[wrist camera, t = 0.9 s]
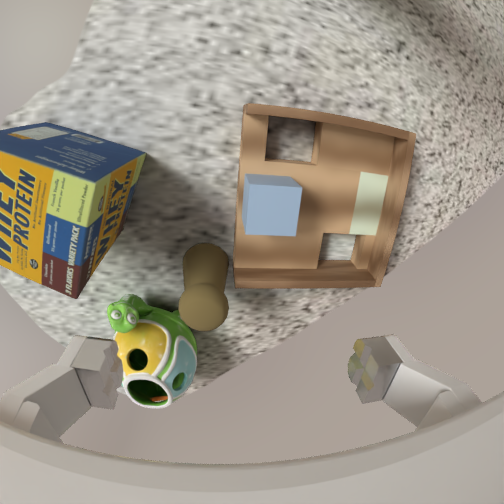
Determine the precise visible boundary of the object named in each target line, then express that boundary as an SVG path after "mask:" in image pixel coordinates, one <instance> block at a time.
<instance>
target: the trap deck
mask: <svg viewBox="0 0 504 504" xmlns="http://www.w3.org/2000/svg"><path fill="white" fill-rule="evenodd" d="M269 116H276V117H285V118H293V119H301V120H308V121H315V122H316V126H315V135H314V143H313V152H312V160H311V162H304V161H294V160H284V159H272V158H265V151H266V141H267V130H268V119H269ZM415 139H416V134H415V133H412V132H409V131H405V130H401V129H398V128H394V127H390V126H386V125H382V124H378V123H374V122H369V121H365V120H360V119H356V118H351V117H346V116H341V115H335V114H330V113H324V112H318V111H311V110H305V109H297V108H290V107H281V106H272V105H262V104H250V103H248V104H245V105H244V107H243V119H242V132H241V145H240V158H239V172H238V187H237V202H236V217H235V233H234V250H233V273H234V283H235V288H356V287H380V286H381V284H382V280H383V277H384V274H385V271H386V268H387V264H388V261H389V258H390V254H391V251H392V247H393V243H394V240H395V236H396V232H397V228H398V224H399V220H400V216H401V212H402V208H403V203H404V199H405V194H406V190H407V185H408V180H409V174H410V169H411V164H412V158H413V152H414V145H415ZM245 174H262V175H277V176H290V177H291V178H292V179H294V180H295V181H296V182H297V183H298V184H299V185H300V186H301V187H302V194H301V202H300V209H299V216H298V223H297V230H296V236H274V235H246V234H245V230H244V225H243V221H242V206H243V192H244V179H245ZM323 233H340V234H357V235H356V239H355V244H354V248H353V252H352V256H351V260H318V259H319V254H320V249H321V243H322V238H323Z"/></svg>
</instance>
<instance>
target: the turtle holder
mask: <svg viewBox="0 0 504 504" xmlns="http://www.w3.org/2000/svg"><path fill="white" fill-rule="evenodd" d="M107 314H108V318H109V321H110V324H111V327H112V328H113V329H114V330H115V335H114V337H113V340H115V341H116V342H117V345H118V349H119V350H118V353H117V356H118V357H119V358H120V359H121V360H122V364H123V380H122V384H121V385H122V386H123V388H124V390H125V392H126V394H127V395H128V397H129V398H130V399H131V400H132V401H133V402H134V403H136V404H137V405H139V406H142V407H146V408H164V407H167V406H169V405H170V404H171V403H173V402H175V401H177V400H178V399H180V398H181V397H182V396H183V395H184V394H185V392H186V391H187V390H188V388H189V387H190V385H191V383H192V381H193V378H194V375H195V371H196V367H197V357H196V355H197V344H196V340H195V338H194V335H193V333H192V332H191V330H190V329H189V327H188V326H187V325H186V324H185V322H184V321H183V320H182V319H181V316H180V313H179V310H175V311H173V312H172V313H171V312H169V311H166V310H163V309H160V308H156V307H151V306H149V305H147V304H146V303H145V302H144V301H143V300H142V299H141V298H140V297H138V296H136V295H133V294H128V295H125V296H124V297H122V298H121V299H120V301H118V302H114V303H112V304H110V305H109V306H108V309H107ZM160 400H164V401H161V402H154V401H160Z"/></svg>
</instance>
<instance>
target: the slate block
mask: <svg viewBox="0 0 504 504" xmlns="http://www.w3.org/2000/svg"><path fill="white" fill-rule="evenodd" d="M301 194H302V187H301V186H300V185H299V184H298V183H297V182H296V181H295V180H294V179H292V178H291V177H290V176H277V175H262V174H245V179H244V192H243V206H242V221H243V225H244V230H245V234H246V235H274V236H296V230H297V223H298V216H299V209H300V202H301Z"/></svg>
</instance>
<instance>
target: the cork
mask: <svg viewBox="0 0 504 504" xmlns="http://www.w3.org/2000/svg"><path fill="white" fill-rule="evenodd" d="M228 267H229V261H228V257H227V255H226V253H225V252H224V251H223V250H222V249H221V248H220V247H218V246H216V245H214V244H209V243H202V244H197V245H195V246H193V247H191V248H190V249H189V250H188V251H187V252H186V254H185V256H184V258H183V276H184V290H185V291H184V292H183V293H182V295H181V297H180V299H179V308H178V309H179V313H180V316H181V319H182V320H183V321H184V322H185V324H186V325H188V326H189V327H190V328H192V329H195V330H198V331H211V330H213V329H216V328H217V327H219V326H220V325H221V324H222V323H223V322H224V321H225V319H226V318H227V315H228V310H229V306H228V301H227V298H226V296H225V294H224V289H225V283H226V278H227V272H228Z"/></svg>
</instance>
